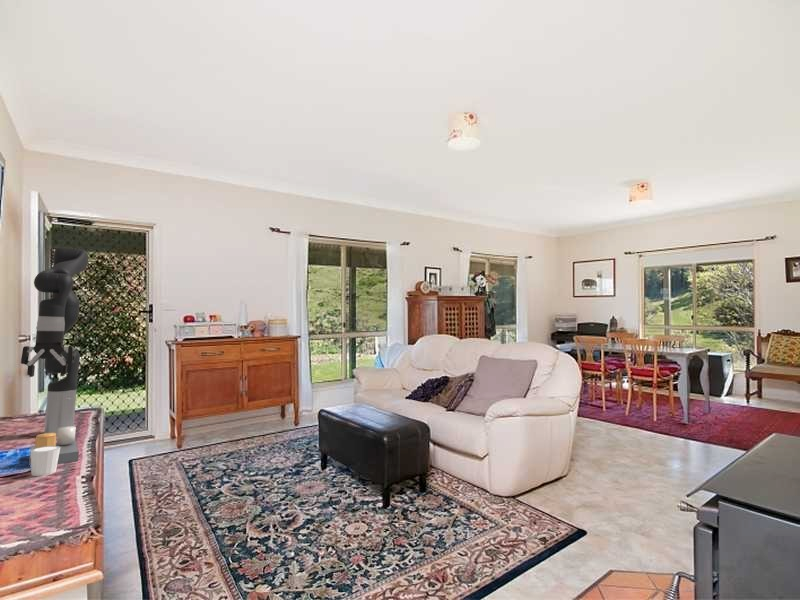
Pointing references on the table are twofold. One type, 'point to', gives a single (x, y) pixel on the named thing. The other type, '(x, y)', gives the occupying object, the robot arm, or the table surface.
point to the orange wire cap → (45, 440)
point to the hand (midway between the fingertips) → (47, 376)
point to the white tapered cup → (44, 460)
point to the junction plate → (65, 445)
